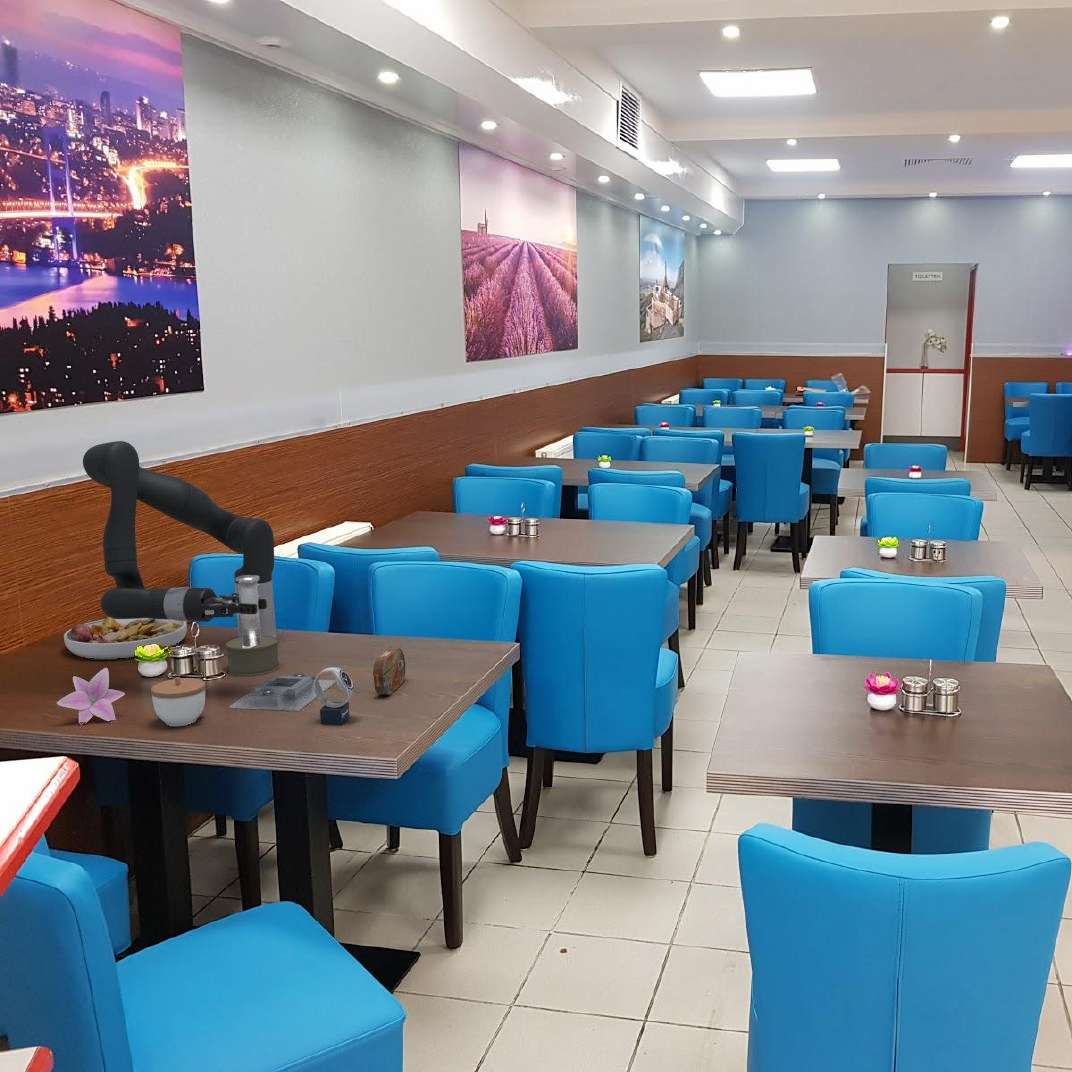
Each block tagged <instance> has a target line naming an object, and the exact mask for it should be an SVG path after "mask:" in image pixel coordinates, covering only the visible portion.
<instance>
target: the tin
mask: <svg viewBox="0 0 1072 1072" xmlns="http://www.w3.org/2000/svg"><path fill="white" fill-rule="evenodd" d="M404 654H405V653H404V652H403V650H402V649H401V648H400V647H399V648H398V647H397V648H389V649H387V650H386V651H384V652H383V653H382V654H381V655H380V656H379V657H378V658H376V660H375V661H374V663H373V668H372V669H373V670H372V676H373V682H374V683H373V684H374V690H375V692H376V694H378V695H380V696H392V695H393V694H394V693H395V692H396V691H395V690H396V689H397V688H398V687H399V688H400V687H401V686H402V685H403V684H404V682H405V677H406V659H405V655H404ZM399 688H398V689H399ZM398 689H397V690H398ZM394 691H395V692H394ZM392 693H393V694H392Z"/></svg>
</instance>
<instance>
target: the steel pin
mask: <svg viewBox="0 0 1072 1072" xmlns="http://www.w3.org/2000/svg"><path fill="white" fill-rule="evenodd" d="M257 581H259V576H258V575H242V576H238V577H236V582H237V583H238V586H239V601H240V604H241V603H249V604H257V611H258V612H257V613H256V614H241V613H240V615H241V629H242V643H243V646H257V645H260V644H261V632H260V617H259V602H258V587H257Z"/></svg>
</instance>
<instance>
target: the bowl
mask: <svg viewBox="0 0 1072 1072" xmlns="http://www.w3.org/2000/svg"><path fill="white" fill-rule="evenodd" d="M187 631H188V626H187V621H177V620H170V619H153V618H138V619H114V618H111V617H109V616H107V618H104V619H103V618H102V619H99V620H95V621H90V622H87V623H78V624H76V625H75V624H74V625H73V627H72V628H70V629H69V630H67V631H66V632H65V633H64V634H63V639H64V644H65V646H66V648H67V650H69V651H70V653H73V654H74V655H75V656H77V657H81V658H84V657H85V659H90V658H94V659H93V660H105V659H106V660H118V659H117V658H125V659H132V658H131V657H134V654H135V650H136V648H137V647H139V646H144V645H151V644H157V645H161V646H170V645H176V643H178V644H180V643H181V642H182V640H184V638H185V637H186V634H187ZM180 641H181V642H180ZM179 642H180V643H179ZM176 646H177V645H176ZM129 657H130V658H129ZM134 658H135V657H134Z"/></svg>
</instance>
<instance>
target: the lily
mask: <svg viewBox="0 0 1072 1072" xmlns="http://www.w3.org/2000/svg"><path fill="white" fill-rule="evenodd" d="M109 675H110V673H109V669H108V668H107V667H104V668H103V669H101V670H100V671H98V672H97V673H96V674H95V675H94V676H92V678H91V679H90V681H89V682H88V681H87V680H85V679H83V678H81V677H79V676H75V675H74V676H73V677H72V682H73V686H74V688H75V691H73V692H71V693H69V694H67V695H65V696H64V697H62V698H60V699H59V700H58V701H56V705H58V706H60V707H64V708H69V709H73V710H78V724H79V723H80V722H86V723H88V722H89V721H90V720H91V718H93V716H96V717H97V718H99V719H102V720H104V721H107V722H109V721H110V720H116V715H115V711H114V707H113V704H112V703H113V702H115V701H117V700H119V699H120V698H122V697H123V696H125V695H126V693H125V692H124V691H121V690H117V689H112V688H111V689H109V686H110V685H109V684H110V676H109ZM116 721H117V720H116Z"/></svg>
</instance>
